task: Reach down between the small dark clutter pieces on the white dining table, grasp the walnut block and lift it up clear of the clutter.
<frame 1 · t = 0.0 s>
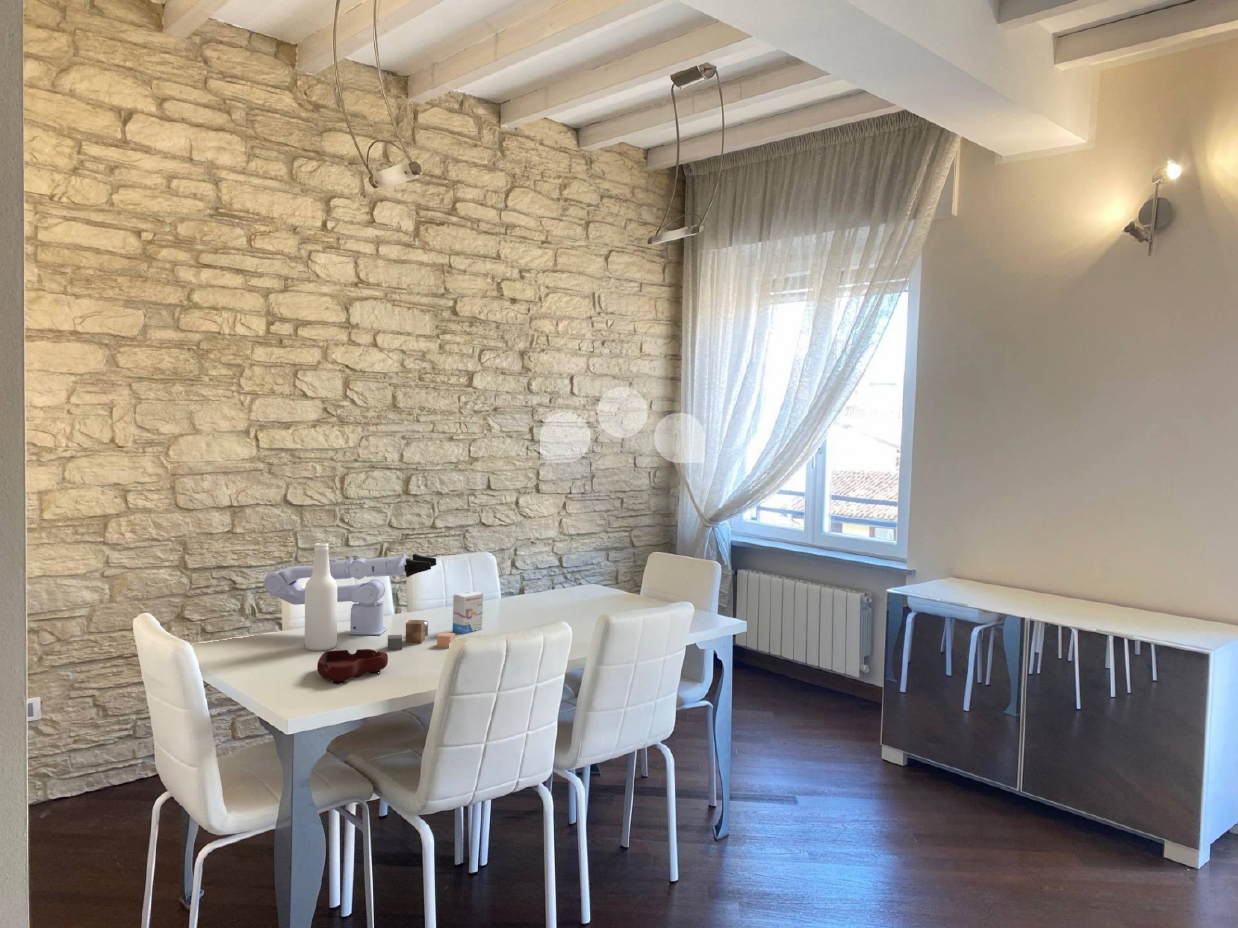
hand: (433, 563, 273), 22 cm above the table, tool horizontal, fingers open, 7 cm apart
charcoal rubber block: (394, 648, 256), on the table
ashtray: (345, 675, 230), on the table
walnut block: (415, 641, 264), on the table
ink box: (467, 631, 279), on the table
white bottle: (320, 648, 255), on the table
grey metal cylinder: (421, 635, 272), on the table
terracotta block: (446, 646, 260), on the table
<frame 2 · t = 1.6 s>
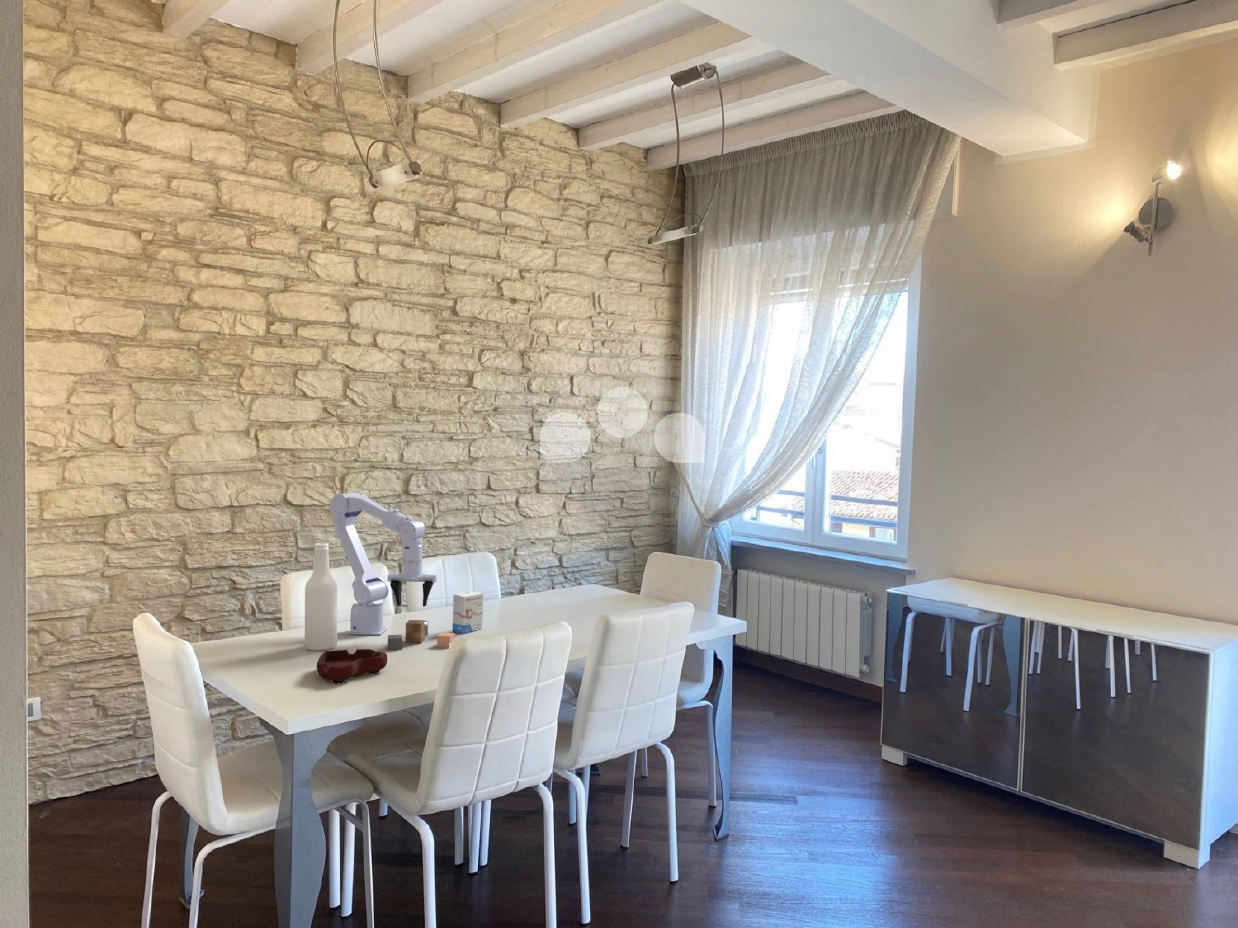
hand: (412, 605, 267), 10 cm above the table, tool pointing down, fingers open, 7 cm apart
nothing on the table moved.
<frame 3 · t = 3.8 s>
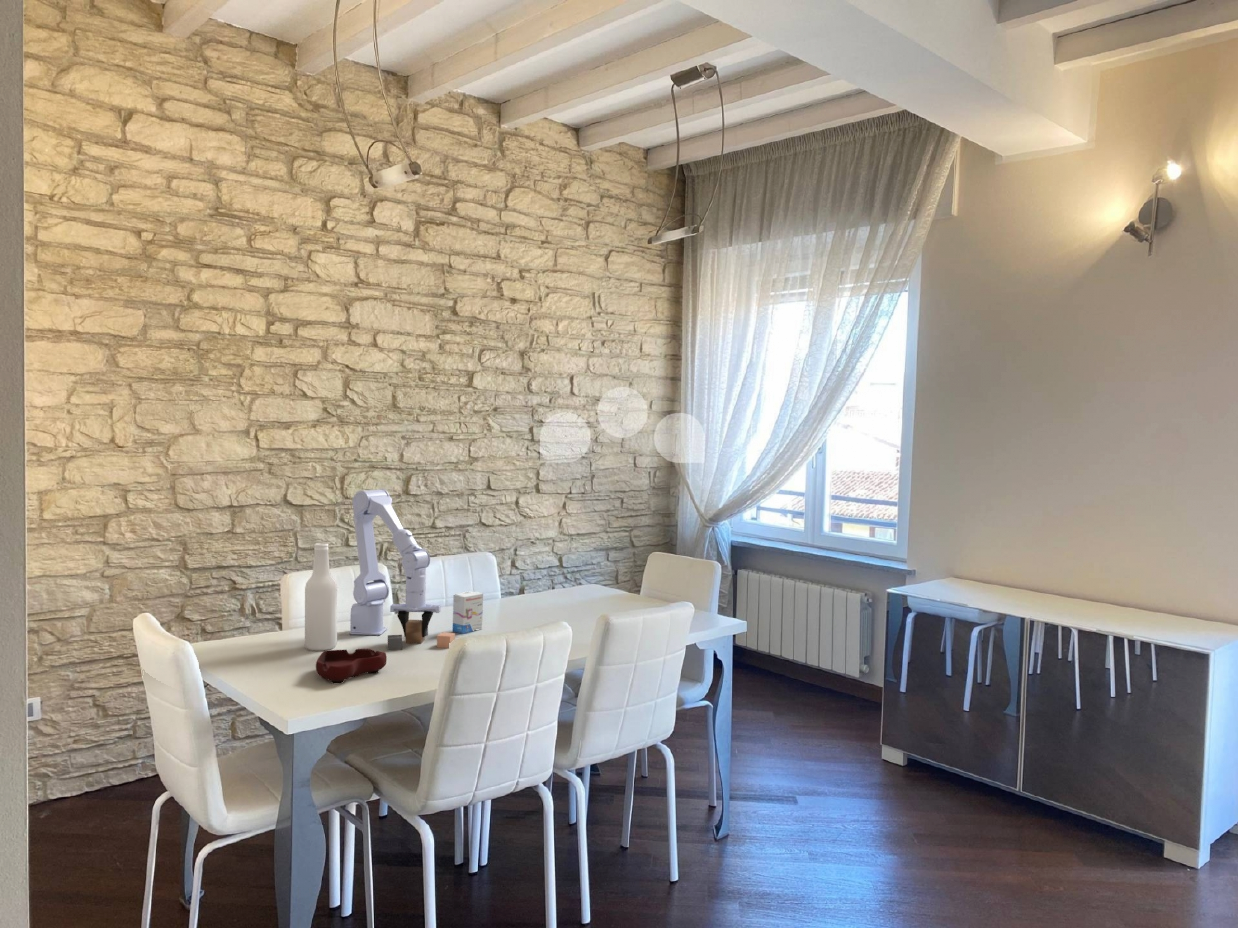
hand: (415, 636, 264), 2 cm above the table, tool pointing down, fingers closed on walnut block, 5 cm apart
walnut block: (415, 641, 264), on the table, touching gripper
everything else where it was.
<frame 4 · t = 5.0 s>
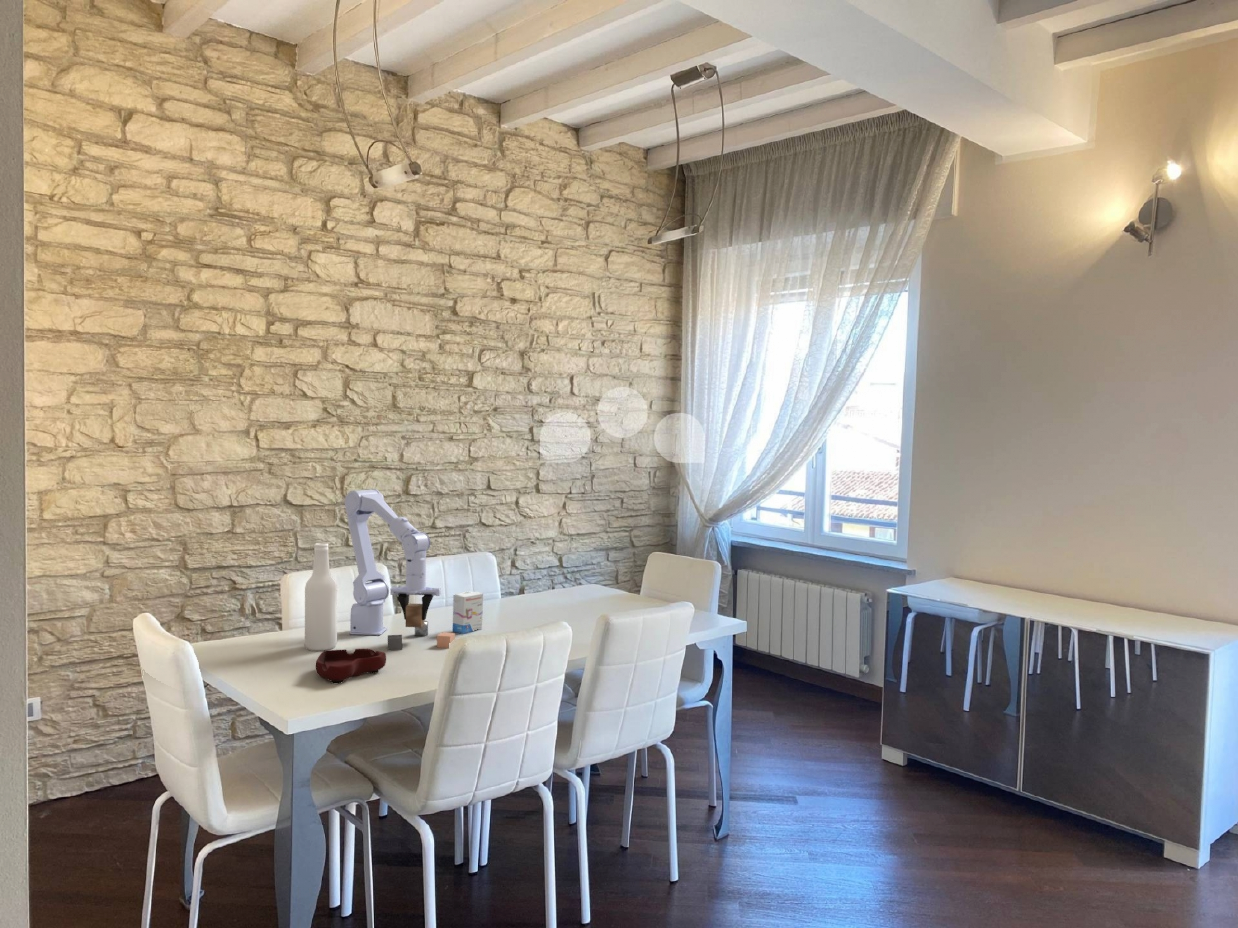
hand: (415, 619, 263), 7 cm above the table, tool pointing down, fingers closed on walnut block, 5 cm apart
walnut block: (415, 625, 264), point 5 cm above the table, touching gripper
everything else where it was.
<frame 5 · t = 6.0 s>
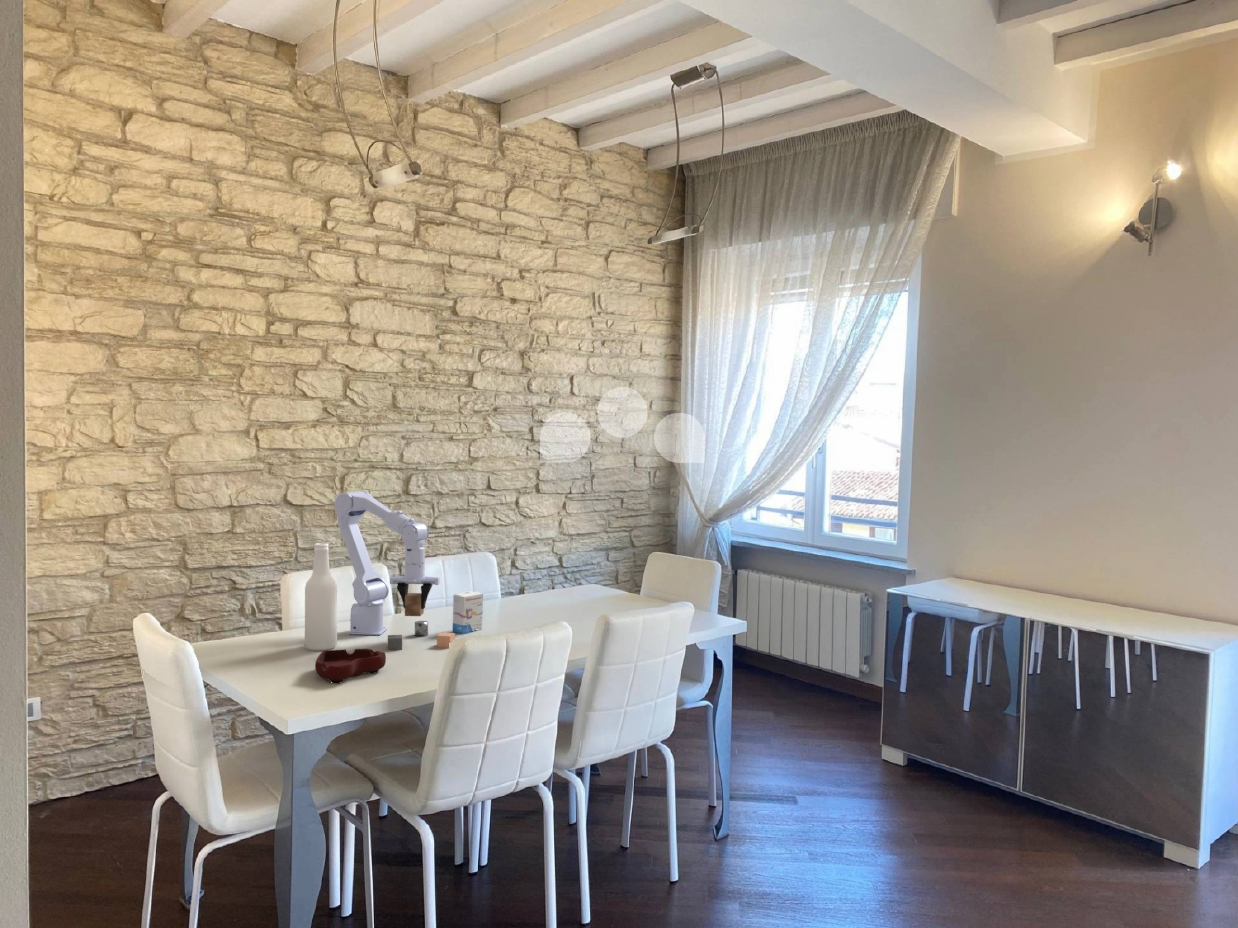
hand: (414, 607, 266), 9 cm above the table, tool pointing down, fingers closed on walnut block, 5 cm apart
walnut block: (414, 614, 266), point 7 cm above the table, touching gripper
everything else where it was.
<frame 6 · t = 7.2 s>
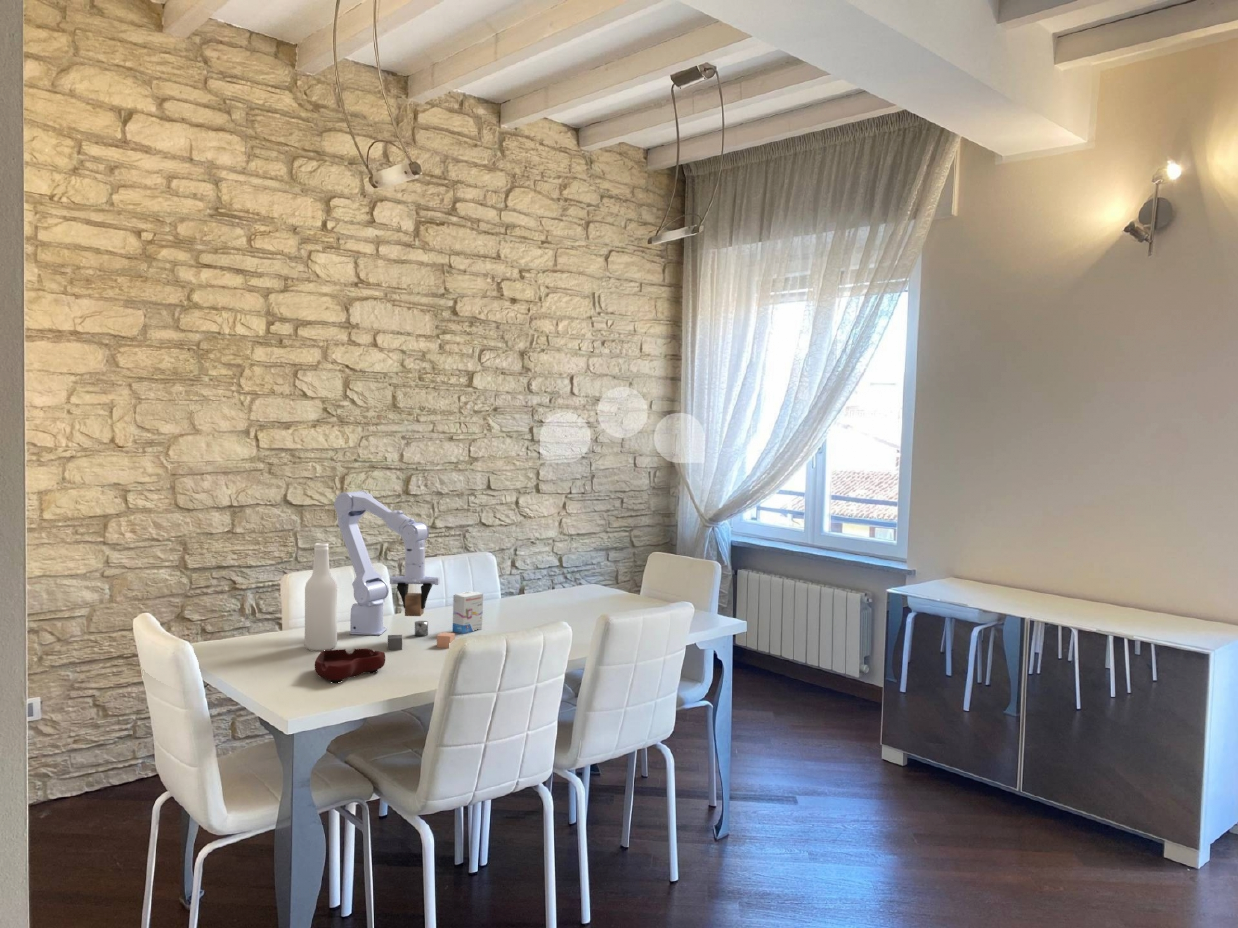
hand: (414, 607, 266), 9 cm above the table, tool pointing down, fingers closed on walnut block, 5 cm apart
walnut block: (414, 614, 266), point 7 cm above the table, touching gripper
everything else where it was.
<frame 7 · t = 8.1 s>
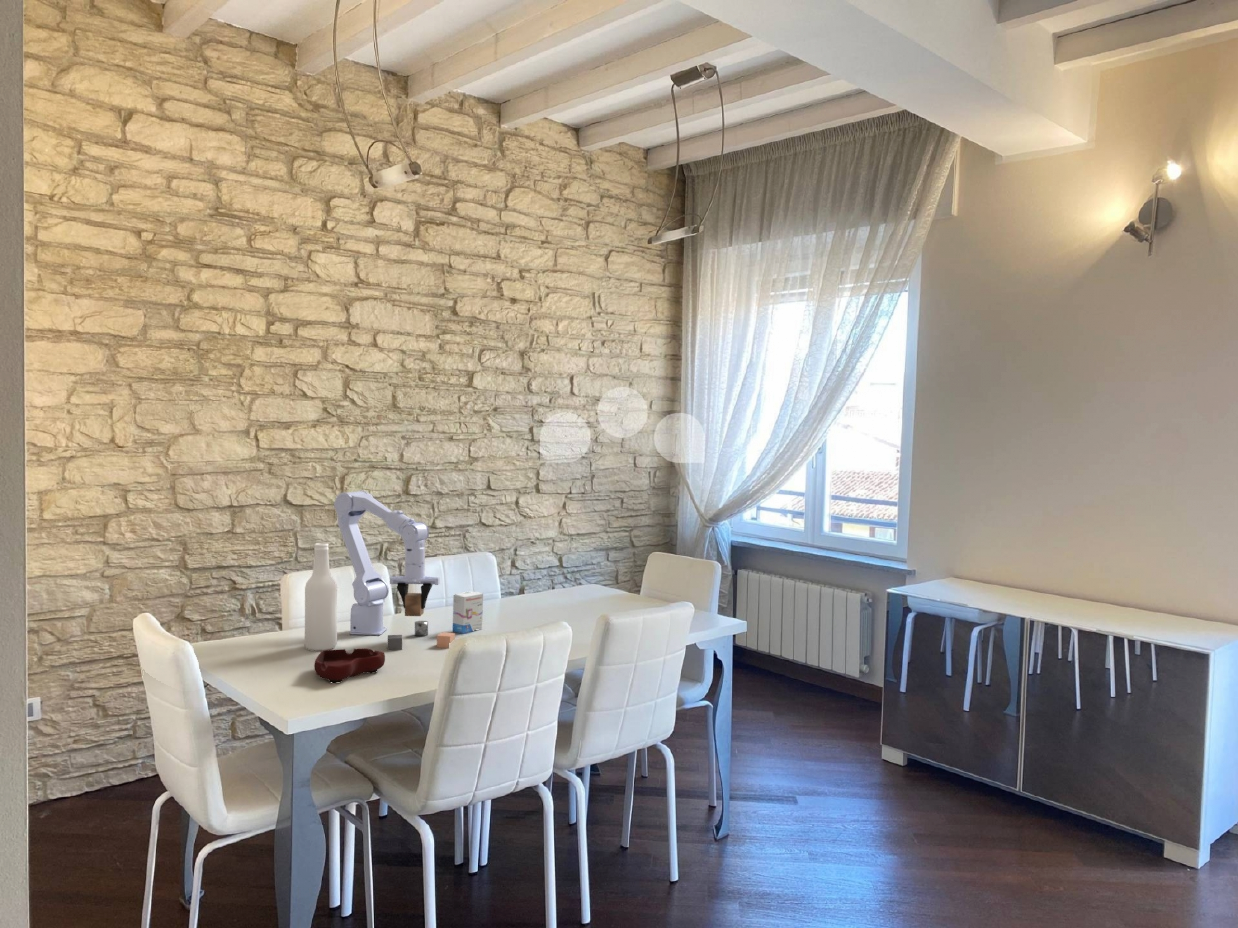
hand: (414, 607, 266), 9 cm above the table, tool pointing down, fingers closed on walnut block, 5 cm apart
walnut block: (414, 614, 266), point 7 cm above the table, touching gripper
at the end: the gripper is holding walnut block; walnut block point 7.5 cm above the table; walnut block tilted 0° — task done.
